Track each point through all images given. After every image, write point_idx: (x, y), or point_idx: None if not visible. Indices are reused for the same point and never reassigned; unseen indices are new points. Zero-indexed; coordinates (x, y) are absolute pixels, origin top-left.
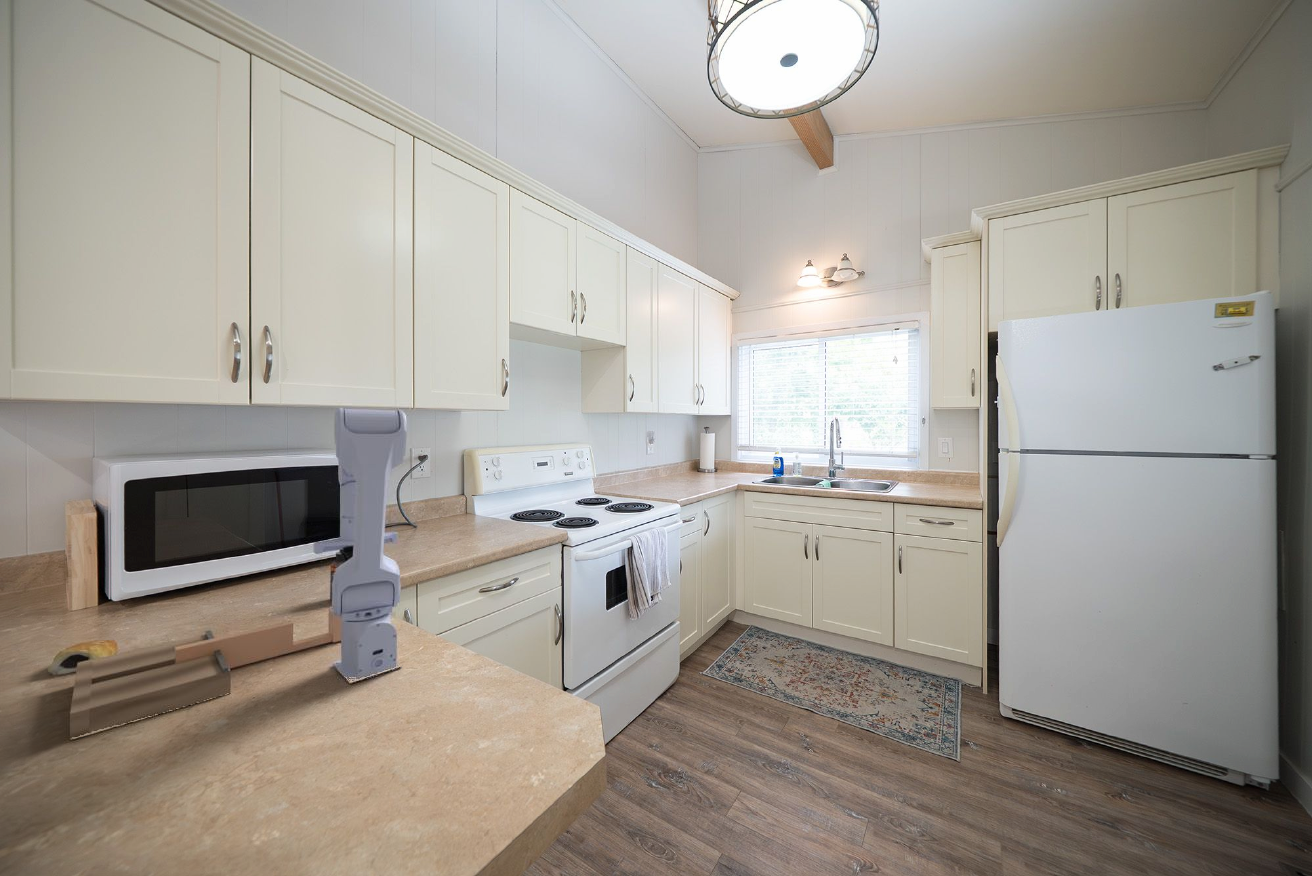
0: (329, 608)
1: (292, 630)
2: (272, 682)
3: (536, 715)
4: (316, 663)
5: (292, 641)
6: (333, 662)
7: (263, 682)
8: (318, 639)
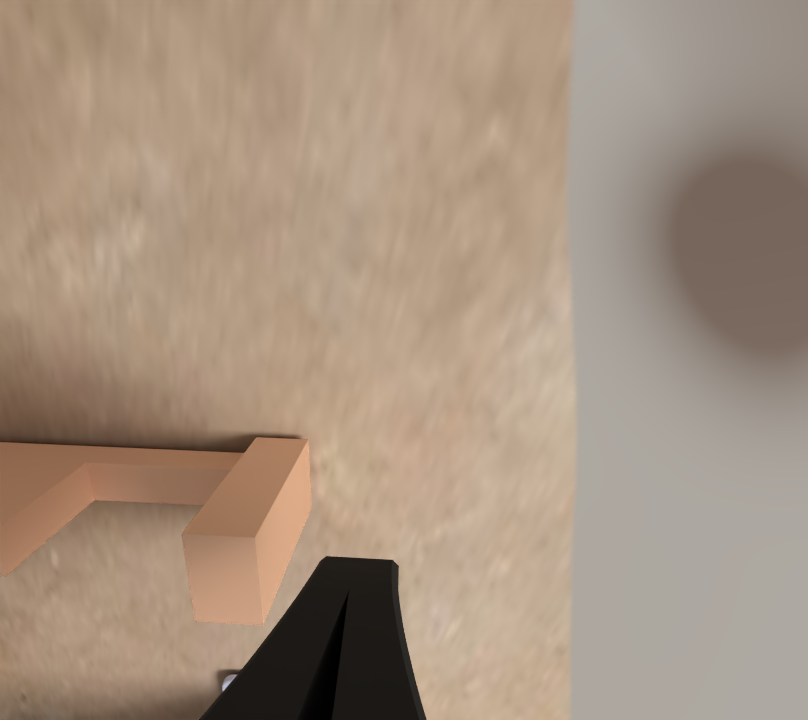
0: (187, 535)
1: (36, 546)
2: (62, 649)
3: None
4: (187, 616)
5: (80, 510)
6: (224, 685)
7: (38, 631)
8: (195, 502)
